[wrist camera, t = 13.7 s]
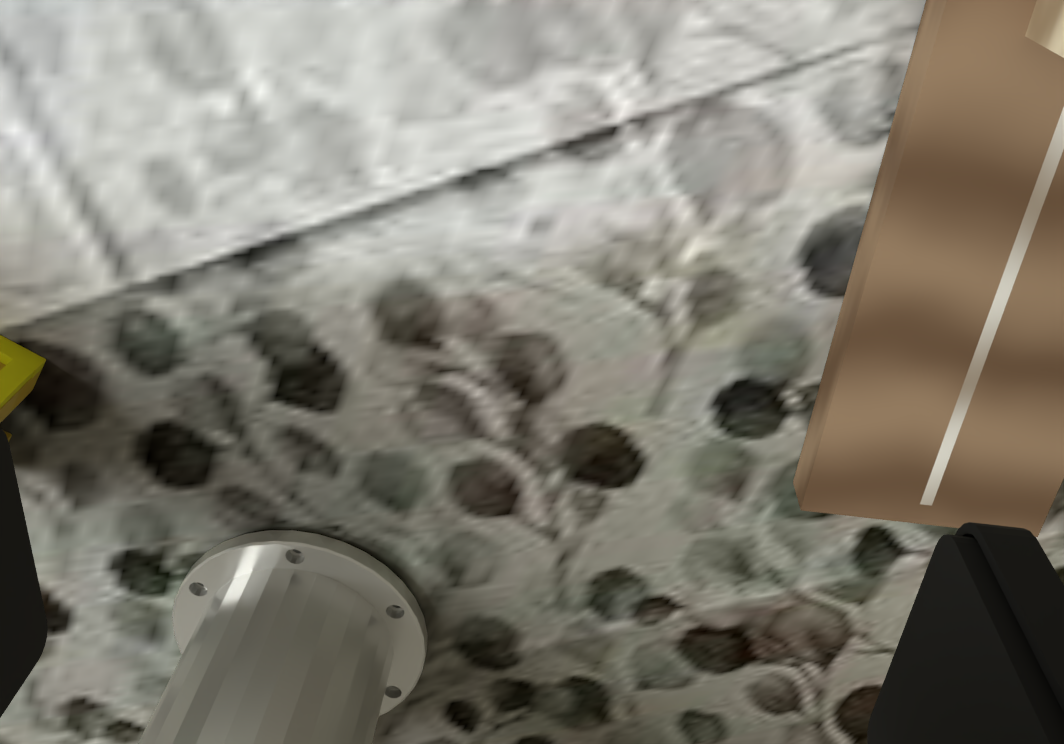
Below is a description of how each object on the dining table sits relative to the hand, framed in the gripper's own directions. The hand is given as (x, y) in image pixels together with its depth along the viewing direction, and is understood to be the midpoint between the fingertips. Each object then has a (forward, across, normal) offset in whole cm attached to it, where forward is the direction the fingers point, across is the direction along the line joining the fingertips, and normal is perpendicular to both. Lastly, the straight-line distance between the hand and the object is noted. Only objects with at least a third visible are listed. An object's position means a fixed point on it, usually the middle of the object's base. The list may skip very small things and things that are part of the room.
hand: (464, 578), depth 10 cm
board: (+28, -17, +4) cm, 33 cm away
